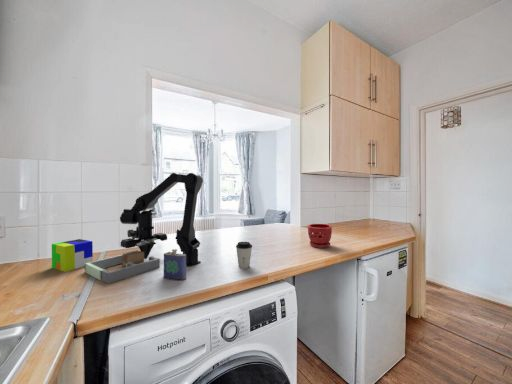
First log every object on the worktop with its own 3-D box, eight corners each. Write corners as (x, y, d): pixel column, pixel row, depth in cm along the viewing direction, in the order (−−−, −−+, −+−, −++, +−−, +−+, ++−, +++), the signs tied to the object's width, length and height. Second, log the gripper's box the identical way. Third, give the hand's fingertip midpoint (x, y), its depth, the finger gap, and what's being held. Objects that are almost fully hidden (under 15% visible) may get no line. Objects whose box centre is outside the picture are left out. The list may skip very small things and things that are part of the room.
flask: (187, 278, 81) (187, 249, 81) (182, 281, 78) (182, 251, 78) (166, 275, 84) (166, 247, 83) (161, 278, 81) (160, 249, 81)
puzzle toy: (92, 264, 96) (92, 241, 96) (65, 271, 87) (64, 246, 87) (79, 260, 100) (79, 239, 100) (51, 268, 91) (51, 244, 91)
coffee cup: (255, 265, 95) (255, 242, 94) (247, 270, 88) (247, 245, 88) (241, 262, 98) (241, 240, 98) (232, 267, 92) (232, 243, 92)
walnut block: (144, 263, 96) (144, 252, 96) (129, 268, 91) (129, 256, 91) (136, 261, 100) (136, 250, 99) (122, 265, 95) (122, 253, 94)
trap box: (160, 266, 93) (160, 258, 92) (107, 283, 76) (107, 273, 76) (136, 258, 103) (136, 251, 103) (84, 272, 87) (84, 263, 87)
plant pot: (307, 242, 134) (307, 223, 134) (329, 243, 132) (330, 223, 132) (308, 248, 122) (308, 226, 121) (333, 249, 119) (333, 227, 119)
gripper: (154, 220, 112) (154, 251, 112) (114, 225, 96) (114, 261, 97) (167, 222, 105) (167, 254, 106) (126, 228, 90) (127, 266, 90)
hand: (145, 258), depth 100 cm, fingers closed
